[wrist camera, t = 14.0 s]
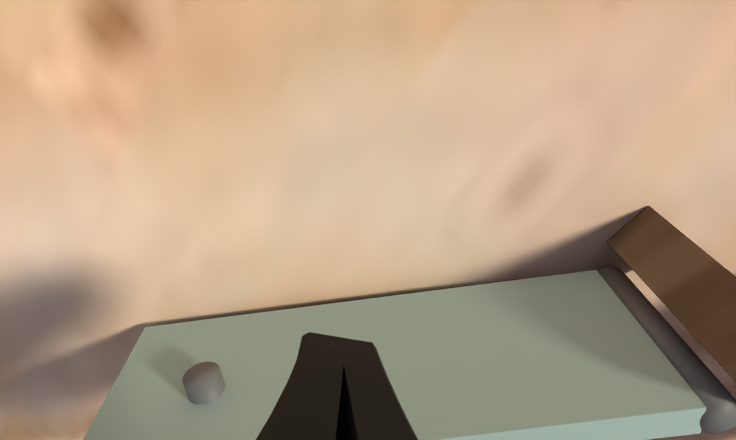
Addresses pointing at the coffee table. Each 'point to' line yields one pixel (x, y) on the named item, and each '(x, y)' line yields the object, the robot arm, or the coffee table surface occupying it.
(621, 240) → the door frame
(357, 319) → the door
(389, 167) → the coffee table surface
